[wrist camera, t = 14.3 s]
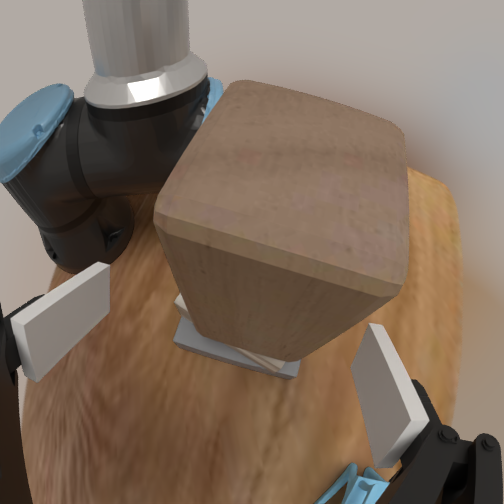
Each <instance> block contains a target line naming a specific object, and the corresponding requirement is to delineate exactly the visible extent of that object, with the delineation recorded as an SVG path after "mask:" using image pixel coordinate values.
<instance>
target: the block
mask: <svg viewBox="0 0 504 504" xmlns="http://www.w3.org/2000/svg"><path fill="white" fill-rule="evenodd" d="M153 222H154V225H155V228H156V231H157V234H158V236H159V239H160V242H161V244H162V247H163V250H164V252H165V255H166V258H167V260H168V263H169V266H170V268H171V271H172V273H173V276H174V278H175V281H176V283H177V286H178V288H179V291H180V293H181V296H182V298H183V300H184V303H185V305H186V308H187V310H188V312H189V315H190V317H191V319H192V322H193V324H194V326H195V329H196V331H197V332H198V333H200V334H201V335H202V336H203V337H206V338H209V339H212V340H215V341H218V342H221V343H224V344H228V345H231V346H234V347H237V348H240V349H244V350H247V351H250V352H254V353H257V354H260V355H264V356H267V357H271V358H274V359H278V360H282V361H285V362H296V361H298V360H300V359H302V358H303V357H305V356H307V355H308V354H310V353H312V352H313V351H315V350H317V349H318V348H320V347H322V346H323V345H325V344H326V343H328V342H330V341H331V340H333V339H334V338H336V337H337V336H339V335H340V334H342V333H344V332H345V331H347V330H348V329H350V328H351V327H353V326H354V325H356V324H357V323H359V322H360V321H362V320H363V319H364V318H366V317H367V316H369V315H370V314H372V313H373V312H375V311H376V310H377V309H379V308H380V307H382V306H383V305H384V304H386V303H387V302H389V301H390V300H391V299H393V298H394V297H395V296H397V295H398V293H399V291H400V289H401V288H402V286H403V284H404V282H405V280H406V276H407V272H408V260H409V193H408V174H407V160H406V148H405V138H404V134H403V132H402V131H401V129H400V128H398V127H397V126H396V125H395V124H393V123H392V122H390V121H388V120H385V119H382V118H380V117H377V116H374V115H372V114H369V113H366V112H363V111H361V110H358V109H354V108H352V107H349V106H346V105H343V104H340V103H336V102H333V101H330V100H327V99H323V98H320V97H317V96H313V95H309V94H306V93H302V92H298V91H294V90H290V89H287V88H283V87H278V86H274V85H269V84H265V83H260V82H255V81H251V80H240V81H235V82H233V83H231V84H230V85H229V86H228V88H227V89H226V90H225V92H224V93H223V95H222V96H221V97H220V99H219V100H218V102H217V103H216V104H215V106H214V107H213V109H212V110H211V112H210V113H209V115H208V116H207V118H206V119H205V120H204V122H203V123H202V125H201V126H200V128H199V129H198V131H197V133H196V134H195V136H194V137H193V139H192V140H191V142H190V143H189V145H188V146H187V148H186V150H185V151H184V153H183V154H182V156H181V158H180V159H179V161H178V162H177V164H176V166H175V167H174V169H173V171H172V172H171V174H170V176H169V177H168V179H167V181H166V182H165V184H164V186H163V188H162V189H161V191H160V193H159V195H158V197H157V199H156V202H155V205H154V218H153Z"/></svg>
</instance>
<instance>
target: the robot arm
mask: <svg viewBox="0 0 504 504" xmlns="http://www.w3.org/2000/svg"><path fill="white" fill-rule="evenodd" d="M82 1H83V8H84V15H85V21H86V27H87V32H88V38H89V43H90V48H91V53H92V58H93V63H94V67H95V73H94V74H93V76H92V78H91V79H90V80H89V82H88V84H87V85H86V87H85V89H84V97H80V98H74V92H73V91H72V90H71V89H70V88H69V86H67V85H63V84H53V85H50V86H47V87H45V88H43V89H40V90H39V91H37V92H35V93H33V94H32V95H30V96H29V97H27V98H26V99H25V100H23V101H22V102H21V103H20V104H18V105H17V106H16V107H15V108H14V109H13V110H12V111H11V112H10V113H9V114H8V115H7V116H6V117H5V119H4V120H3V121H2V122H1V124H0V182H1V183H2V184H3V185H4V186H5V188H6V189H7V190H8V191H9V193H10V194H11V195H12V197H13V198H14V199H15V200H16V202H17V203H18V204H19V205H20V206H21V207H22V209H23V210H24V211H25V212H26V213H27V215H28V216H29V217H30V218H31V219H32V220H33V221H34V223H35V224H36V225H37V226H38V228H39V231H40V235H41V238H42V241H43V244H44V247H45V250H46V252H47V254H48V255H49V257H50V258H51V259H52V260H53V261H54V262H55V263H56V264H57V265H58V266H59V267H60V268H61V269H63V270H64V271H66V272H69V273H73V274H77V275H75V276H74V277H72V278H71V279H69V280H67V281H66V282H64V283H63V284H61V285H60V286H58V287H57V288H55V289H53V290H52V291H50V292H49V293H47V294H46V295H45V294H43V295H40V296H37V297H34V298H33V299H31V300H30V301H28V302H27V303H25V304H24V305H22V306H21V307H19V308H18V309H16V310H15V311H13V312H12V313H10V314H9V315H7V316H6V317H4V318H3V314H2V309H1V303H0V504H33V502H32V497H31V493H30V488H29V484H28V479H27V473H26V467H25V461H24V455H23V447H22V439H21V429H20V417H19V399H18V373H17V370H16V369H17V368H18V367H19V366H20V365H22V368H23V372H24V375H25V376H26V377H28V378H30V379H31V380H33V381H35V382H37V383H38V382H39V381H40V380H41V379H42V378H43V377H44V376H45V375H46V374H47V373H48V372H49V371H50V370H51V369H52V368H53V367H54V366H55V365H56V364H57V363H58V362H59V361H60V360H61V359H62V358H63V357H64V356H65V355H66V354H67V353H68V352H69V351H70V350H71V349H72V348H73V347H74V346H75V345H76V344H77V343H78V342H79V341H80V340H81V339H82V338H83V337H84V336H85V335H86V334H87V333H88V332H89V331H90V330H91V329H92V328H93V327H94V326H96V325H97V324H98V323H99V322H100V321H101V320H102V319H103V318H104V317H105V316H106V315H107V314H108V313H109V312H110V265H109V264H110V263H112V262H113V261H114V260H115V259H116V258H117V257H118V256H119V255H120V254H121V253H122V252H123V250H124V249H125V247H126V246H127V244H128V242H129V240H130V238H131V235H132V232H133V228H134V213H133V210H132V207H131V205H130V202H129V200H128V198H127V196H126V195H137V194H149V193H160V191H161V189H162V188H163V186H164V184H165V182H166V181H167V179H168V177H169V176H170V174H171V172H172V171H173V169H174V167H175V166H176V164H177V162H178V161H179V159H180V158H181V156H182V154H183V153H184V151H185V150H186V148H187V146H188V145H189V143H190V142H191V140H192V139H193V137H194V136H195V134H196V133H197V131H198V129H199V128H200V126H201V125H202V123H203V122H204V120H205V119H206V118H207V116H208V115H209V113H210V112H211V110H212V109H213V107H214V106H215V104H216V103H217V102H218V100H219V99H220V97H221V96H222V95H223V86H222V83H221V81H220V80H218V79H214V78H211V77H209V78H208V77H207V65H206V63H205V62H204V60H202V59H201V58H199V57H198V56H197V55H195V54H194V53H193V52H191V51H190V45H189V18H188V0H82ZM350 368H351V371H352V375H353V379H354V382H355V386H356V390H357V394H358V398H359V402H360V406H361V410H362V414H363V418H364V422H365V426H366V430H367V435H368V439H369V443H370V448H371V452H372V457H373V462H374V466H375V468H392V467H393V466H394V465H395V464H396V463H397V462H398V460H399V459H400V460H401V463H402V467H401V468H400V469H399V470H398V471H397V472H396V474H395V475H394V476H393V477H392V478H391V479H390V480H389V482H390V483H389V485H388V486H387V488H386V489H385V490H384V492H383V493H382V495H381V496H380V497H379V499H378V500H377V501H376V503H375V504H503V481H502V480H503V479H502V461H501V449H500V445H499V442H498V441H497V440H496V438H494V437H493V436H491V435H489V434H485V433H483V434H480V435H478V436H477V438H476V439H475V440H474V441H473V442H471V441H466V440H461V439H460V437H459V435H458V433H457V432H456V431H455V430H454V429H453V428H451V427H450V426H447V425H442V423H441V421H440V419H439V417H438V415H437V413H436V411H435V409H434V407H433V405H432V404H431V401H430V399H429V397H428V395H427V393H426V391H425V389H424V387H423V386H422V385H421V384H420V383H419V382H418V381H417V380H413V379H410V378H409V376H408V373H407V371H406V369H405V367H404V365H403V363H402V361H401V359H400V357H399V356H398V354H397V352H396V350H395V348H394V346H393V344H392V342H391V340H390V338H389V336H388V334H387V333H386V331H385V329H384V327H383V325H378V324H372V323H369V324H368V327H367V329H366V332H365V334H364V337H363V339H362V342H361V344H360V346H359V349H358V351H357V353H356V356H355V358H354V360H353V363H352V365H351V367H350Z"/></svg>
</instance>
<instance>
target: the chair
mask: <svg viewBox="0 0 504 504" xmlns="http://www.w3.org/2000/svg"><path fill="white" fill-rule="evenodd" d="M356 474H357V465H356V464H355V463H351V464H350V465H349V466H348V467H347V469H346V470H345V471H344V472H343V474H342V475H341V476H340V477H339V478H338V479H337V481H336V482H335V483H334V484H333V485H332V486H331V487H330V488H329V489H328V490H327V491H326V492H325V493H324V494H323V495H322V496H321V497H320V498H319V499H318V500H317V501H316V502H315V503H314V504H325V503H326V502H327V501H328V500H329V499H330V498H331V497H332V496H333V495H334V494H335V493H336V492H337V491H338V490H339V489H340V488H341V487H342V486H343V485H344V484H345V483H346V482H347V481H348V484H347V488H346V492H345V495H344V498H343V500H342V503H341V504H375V503H376V501H377V500H378V499H379V497H380V496H381V495H382V493H383V492H384V490H385V489H386V488H387V486H388V485H389V483H390V482H386V481H385V480H384V479H383V478H381V477H380V476H379V475H378V474H377V473H376V472H375V471H374V470H373V469H372V468H371V467H367V468H366V469H365V471H364V474H363V477H362V476H357V475H356Z"/></svg>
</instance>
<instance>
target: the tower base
mask: <svg viewBox="0 0 504 504" xmlns="http://www.w3.org/2000/svg"><path fill="white" fill-rule="evenodd" d="M173 341H174V343H175V344H176V345H177V346H178V347H179V348H182V349H185V350H188V351H191V352H194V353H197V354H200V355H203V356H206V357H210V358H213V359H216V360H219V361H222V362H226V363H229V364H233V365H236V366H240V367H243V368H247V369H250V370H254V371H258V372H261V373H265V374H269V375H273V376H277V377H281V378H285V379H289V380H290V379H292V378H295V377H297V374H298V370H299V366H300V362H301V359H300V360H298V361H296V362H285V363H284V365H283V367H282V368H281V369H280V370H279V371H277V372H276V373H272V372H270V371H268V370H267V369H265V368H263V367H262V366H260V365H258V364H256V363H255V362H253V361H251V360H250V359H248V358H246V357H245V356H243V355H241V354H240V353H238V352H237V351H235V350H233V349H232V348H230V347H228V346H227V345H225V344H224V343H221V342H218V341H215V340H212V339H209V338H206V337H203V336H202V335H201V334H200V333H198V332H197V331H196V329H195V326H194V324H193V323H191V322H190V321H188V320H187V319H185V318H184V317H181V320H180V322H179V325H178V328H177V331H176V334H175V336H174V339H173Z"/></svg>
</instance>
